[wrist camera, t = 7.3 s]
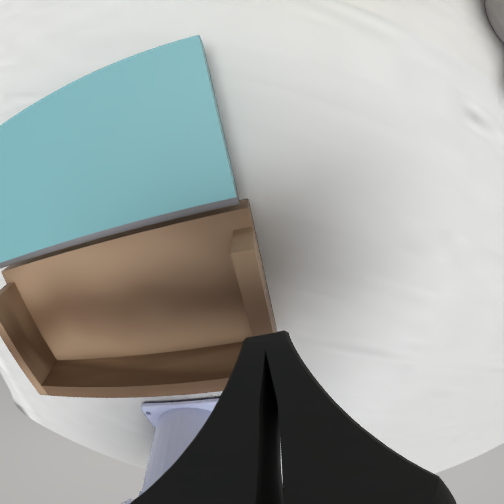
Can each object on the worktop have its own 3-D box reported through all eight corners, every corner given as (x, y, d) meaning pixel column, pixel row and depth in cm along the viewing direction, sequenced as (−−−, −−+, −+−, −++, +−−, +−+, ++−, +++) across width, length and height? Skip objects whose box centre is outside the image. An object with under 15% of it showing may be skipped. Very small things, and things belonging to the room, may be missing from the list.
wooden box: (276, 328, 20) (283, 381, 16) (64, 354, 21) (40, 394, 17) (247, 198, 17) (248, 226, 12) (16, 260, 18) (-23, 291, 13)
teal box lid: (238, 207, 14) (198, 35, 11) (-3, 271, 15) (-40, 156, 12) (239, 200, 16) (202, 41, 12) (6, 263, 17) (-29, 153, 13)
